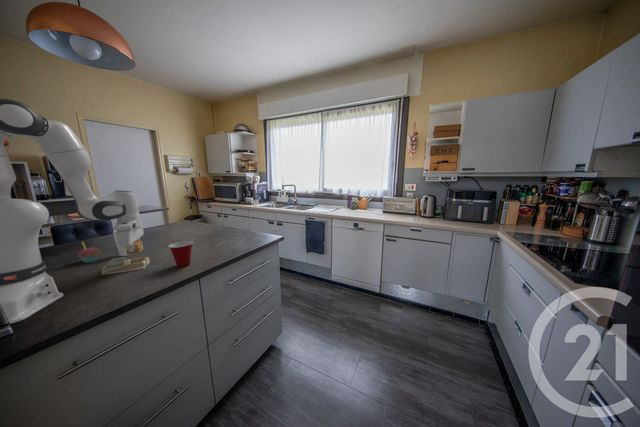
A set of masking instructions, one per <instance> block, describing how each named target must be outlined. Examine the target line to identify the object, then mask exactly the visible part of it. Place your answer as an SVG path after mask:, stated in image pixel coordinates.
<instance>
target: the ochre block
mask: <svg viewBox="0 0 640 427" xmlns="http://www.w3.org/2000/svg"><path fill="white" fill-rule="evenodd" d="M133 247H135V250H134V251H133V252H129V248H128V247H127V246H126V251H127V255H128V254H130V255H135V254H140V253H141V252H142V251H144V245H143V240H140V241H135V242H134V243H133ZM128 256H129V255H128Z"/></svg>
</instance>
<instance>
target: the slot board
mask: <svg viewBox="0 0 640 427" xmlns="http://www.w3.org/2000/svg"><path fill="white" fill-rule="evenodd" d="M150 263H151V260H150V257H149V256H145V257H138V258H137V257H136V258H135V257H134V258H128V259H126V256H121V257H116V258H111V259H110V260H109V261H107V263H106V264H105V265H103V267H101V269H100V270H101V272H100V273H101V276H104V275H111V274H112V275H113V274H118V273H124V272H125V273H126V272H131V271H132V272H133V271H139V270H144V269H145V268H146V267H147V266H148V265H149V264H150Z"/></svg>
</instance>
